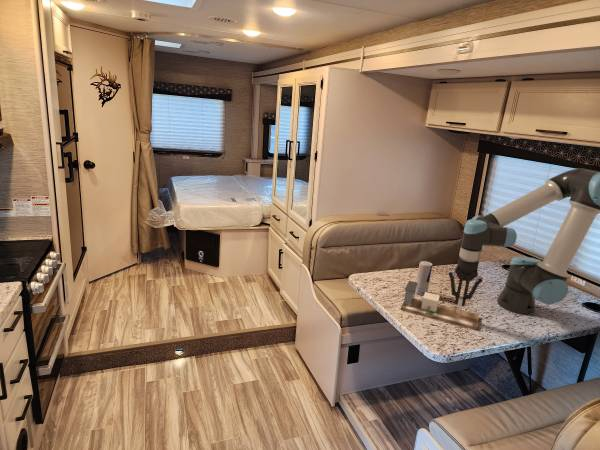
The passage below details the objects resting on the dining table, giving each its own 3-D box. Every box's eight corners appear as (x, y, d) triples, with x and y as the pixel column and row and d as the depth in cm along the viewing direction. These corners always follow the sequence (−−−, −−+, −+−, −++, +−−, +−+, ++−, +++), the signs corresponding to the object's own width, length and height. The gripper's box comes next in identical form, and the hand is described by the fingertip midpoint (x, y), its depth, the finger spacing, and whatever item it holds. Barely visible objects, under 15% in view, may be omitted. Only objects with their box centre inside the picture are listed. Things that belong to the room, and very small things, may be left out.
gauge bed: (478, 317, 165) (478, 314, 164) (477, 330, 154) (478, 327, 154) (406, 298, 176) (406, 295, 176) (400, 309, 166) (401, 306, 165)
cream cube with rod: (437, 306, 168) (439, 295, 167) (434, 315, 160) (437, 304, 159) (423, 302, 171) (425, 291, 169) (419, 311, 162) (421, 300, 161)
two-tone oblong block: (415, 298, 174) (417, 282, 172) (411, 307, 166) (414, 291, 163) (406, 296, 176) (409, 280, 173) (402, 305, 167) (404, 288, 165)
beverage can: (427, 296, 180) (433, 266, 176) (415, 294, 181) (420, 264, 177) (426, 291, 185) (431, 261, 181) (414, 289, 186) (419, 260, 182)
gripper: (487, 259, 156) (475, 312, 163) (452, 252, 161) (442, 304, 168) (486, 265, 149) (474, 320, 156) (450, 258, 154) (440, 311, 161)
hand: (458, 311), depth 162 cm, fingers closed
